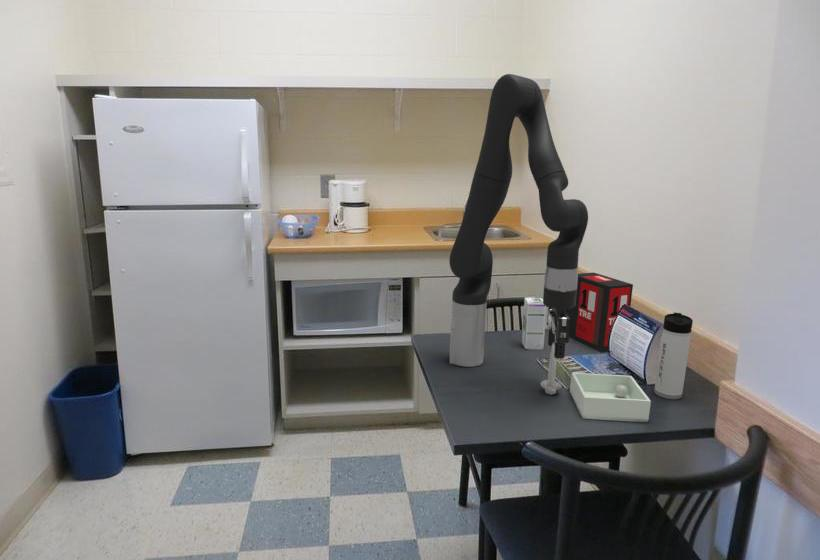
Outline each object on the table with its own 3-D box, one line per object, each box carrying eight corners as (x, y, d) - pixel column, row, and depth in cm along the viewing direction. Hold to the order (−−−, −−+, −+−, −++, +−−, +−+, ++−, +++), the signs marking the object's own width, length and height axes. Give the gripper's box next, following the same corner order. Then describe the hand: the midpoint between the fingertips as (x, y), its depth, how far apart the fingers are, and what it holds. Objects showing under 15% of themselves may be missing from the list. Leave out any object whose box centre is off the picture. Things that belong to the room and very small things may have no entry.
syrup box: (543, 350, 170) (548, 302, 167) (523, 349, 170) (527, 301, 167) (539, 343, 176) (543, 297, 172) (520, 342, 176) (524, 296, 172)
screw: (558, 388, 143) (562, 397, 138) (538, 387, 143) (541, 396, 139) (563, 339, 140) (567, 345, 135) (543, 338, 140) (546, 344, 136)
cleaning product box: (625, 349, 173) (633, 284, 168) (602, 352, 169) (609, 286, 165) (587, 332, 188) (593, 272, 183) (565, 335, 184) (571, 274, 179)
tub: (582, 418, 128) (584, 397, 127) (569, 391, 142) (571, 372, 141) (648, 422, 127) (650, 401, 126) (628, 395, 141) (631, 375, 140)
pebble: (616, 399, 137) (617, 387, 136) (612, 393, 140) (613, 382, 139) (628, 400, 137) (630, 388, 136) (625, 394, 140) (626, 383, 139)
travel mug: (680, 390, 144) (691, 314, 139) (683, 401, 138) (695, 321, 133) (653, 386, 146) (663, 310, 141) (654, 397, 140) (665, 318, 135)
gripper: (539, 278, 142) (535, 341, 146) (549, 292, 128) (544, 361, 132) (570, 279, 142) (565, 342, 145) (583, 293, 128) (578, 362, 131)
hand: (555, 351), depth 138 cm, fingers open, 8 cm apart
